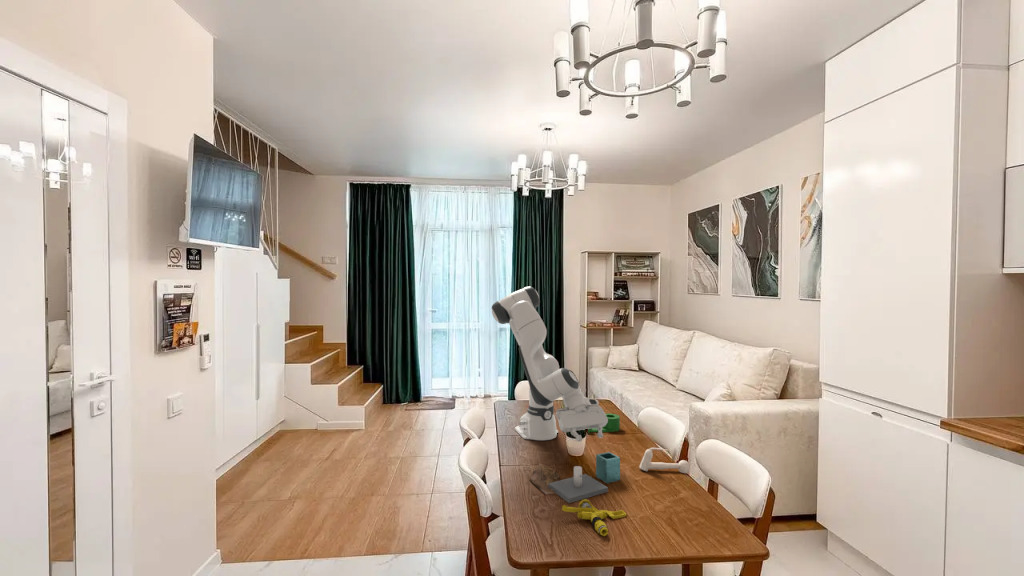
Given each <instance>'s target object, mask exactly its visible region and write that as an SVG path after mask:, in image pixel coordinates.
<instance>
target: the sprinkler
mask: <svg viewBox="0 0 1024 576" xmlns="http://www.w3.org/2000/svg"><path fill="white" fill-rule="evenodd" d="M561 511H563V512H567V513H576V515H577V518H578V519H582V520H589V521H590V522H591V525H592V527H593V528H594V530H595V531H596V532H597V533H598V534H599V535H600V536H602V537H605V536H607V535H608V534H609V530H608V526H607V525H606V523H605V522H604V519H607V517H610V518H611V519H612V520H615V519H620V518H625V517H626V516H627V513H626V512H625V511H624V510H623V509H622V510H617V511H611V510H607V509H602V510H601V509H600V510H599V509H597V508H596V507H595V506H594V505H592V503H591V501H590V500H589V499H588V498H585V499H582V500H580V502H579V504H578V507H574V506H567V505H565V504H563V505H562V506H561Z"/></svg>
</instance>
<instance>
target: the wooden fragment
mask: <svg viewBox="0 0 1024 576" xmlns="http://www.w3.org/2000/svg"><path fill="white" fill-rule="evenodd" d="M538 464H539V465H538ZM538 464H537V466H536V468H535V469H534V471H533V472H532V474H531V476H530V477H529V478H530V479H529V482H531V483H533V485H534V486H536V487H537V489H539V490H540V491H541V492H543V493H544V494H545V496H549V495H553V494H556V493H555V491H553V490H552V489H550V488H549V487H548V483H552V482H556V481H558V479H559V478H560V477H561V476H560V474H558V473H557V470H556V469H554V468H552V467H549V466H546V465H545V464H542V463H538Z"/></svg>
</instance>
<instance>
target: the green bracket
mask: <svg viewBox="0 0 1024 576" xmlns="http://www.w3.org/2000/svg"><path fill="white" fill-rule="evenodd" d="M605 414H606V416H607V419H608V423H607V424H606V425H605V426H604V427H602V433H613V432H614V433H616V432H619V431H620V429H621V428H620V427H621V425H620V424H621V423H620V422H621V420H620V417H621V416H620V415H618V414H616V413H605ZM615 431H616V432H615ZM590 432H597V433H598V432H599V430H597V428H592V429H588V433H587V434H591V433H590Z"/></svg>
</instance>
